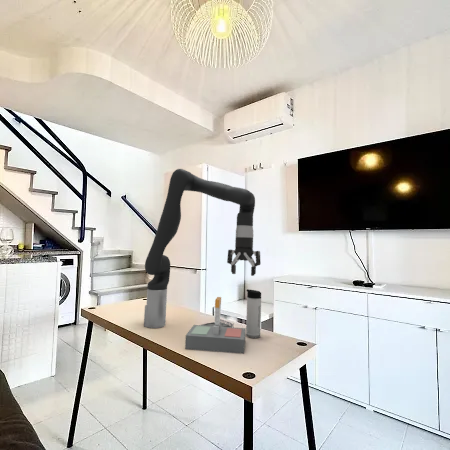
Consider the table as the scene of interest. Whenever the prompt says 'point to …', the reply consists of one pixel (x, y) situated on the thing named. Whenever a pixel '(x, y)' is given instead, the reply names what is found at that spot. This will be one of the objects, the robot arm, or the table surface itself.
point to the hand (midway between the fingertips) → (243, 274)
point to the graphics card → (221, 324)
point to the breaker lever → (217, 311)
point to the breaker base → (216, 338)
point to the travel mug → (253, 314)
